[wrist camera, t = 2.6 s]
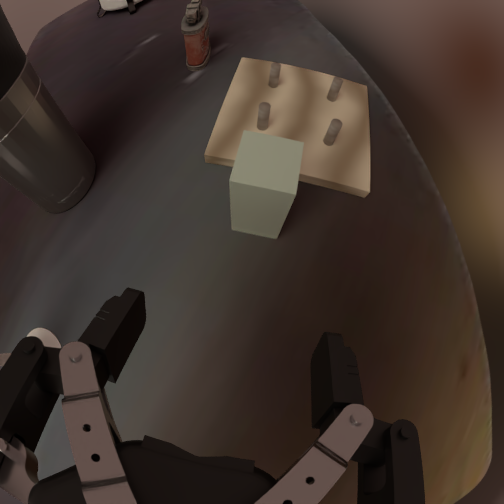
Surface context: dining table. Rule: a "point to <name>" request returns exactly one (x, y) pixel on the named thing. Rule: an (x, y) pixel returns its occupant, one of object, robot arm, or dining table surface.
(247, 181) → the sage block
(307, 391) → the dining table surface
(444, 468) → the dining table surface
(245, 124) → the peg board
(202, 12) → the lighter
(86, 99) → the dining table surface
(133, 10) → the coffee press
